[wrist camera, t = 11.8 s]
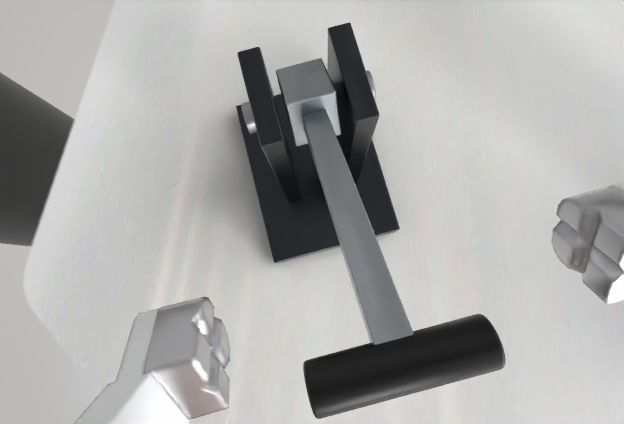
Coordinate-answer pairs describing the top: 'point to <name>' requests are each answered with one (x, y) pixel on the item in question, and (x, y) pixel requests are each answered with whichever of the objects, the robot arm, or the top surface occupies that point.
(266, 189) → the bracket
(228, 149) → the top surface
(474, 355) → the lever
